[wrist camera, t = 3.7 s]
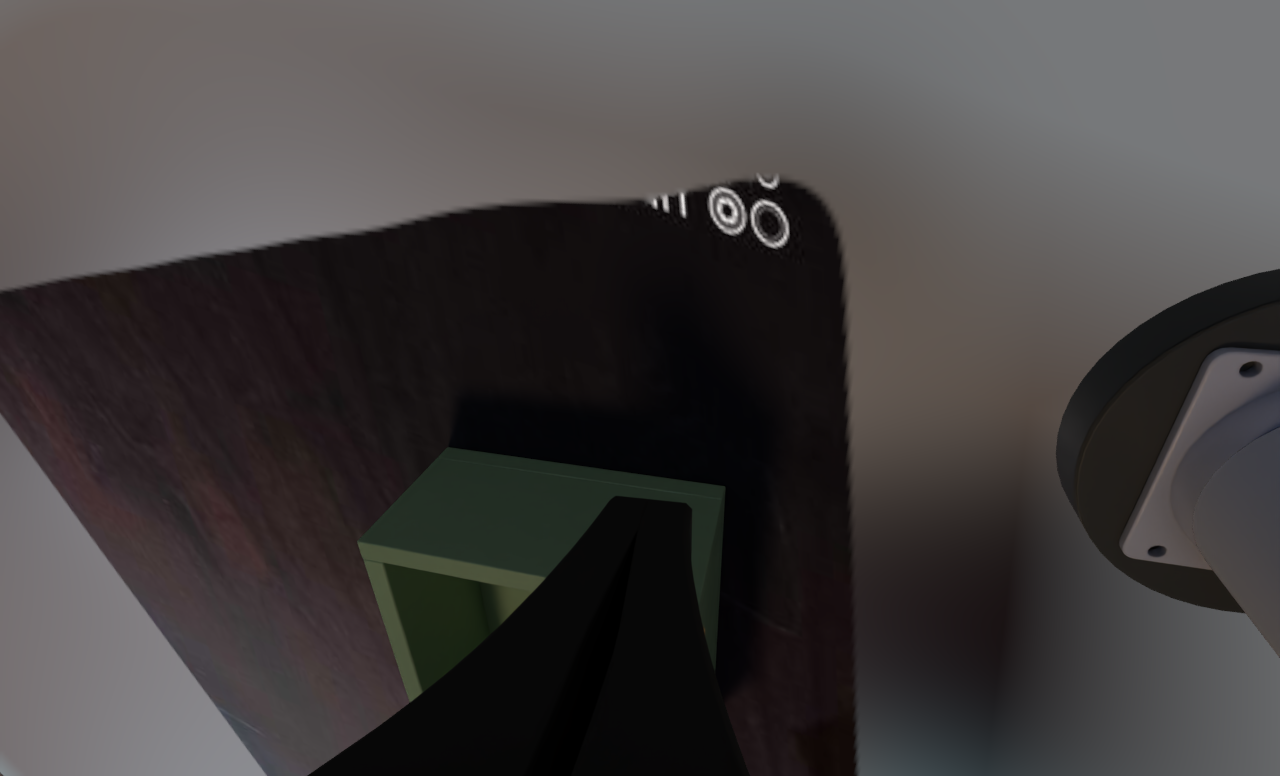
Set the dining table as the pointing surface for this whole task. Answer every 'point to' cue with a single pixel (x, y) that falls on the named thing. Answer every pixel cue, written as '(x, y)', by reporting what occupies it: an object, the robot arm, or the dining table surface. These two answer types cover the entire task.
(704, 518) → the green open cubby
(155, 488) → the dining table surface
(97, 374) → the dining table surface
